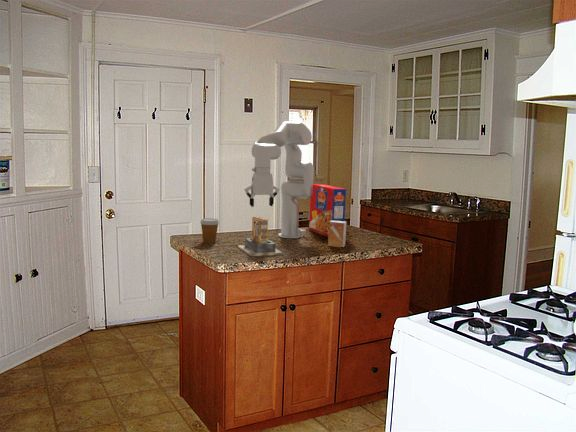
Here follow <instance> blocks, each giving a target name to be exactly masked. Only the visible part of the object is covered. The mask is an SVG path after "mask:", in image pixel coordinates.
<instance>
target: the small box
mask: <svg viewBox="0 0 576 432" xmlns="http://www.w3.org/2000/svg"><path fill="white" fill-rule="evenodd" d="M347 224H348V223H347V221H345V220H344V221H334V220H332V221H330V222H329V235H328V237H327V238H328V239H327V247H335V248H341V247H343V248H344V247H345V246H346V237H347Z"/></svg>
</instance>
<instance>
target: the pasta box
mask: <svg viewBox="0 0 576 432" xmlns="http://www.w3.org/2000/svg"><path fill="white" fill-rule="evenodd" d="M346 197H347V188H344V187H339V186H338V187H337V186H334V185H328V184H324V183H313V191H312V196H311V197H310V198H309V199H310V200H309V202H310V203H309V224H308V225H309V226H308V230H309V231H310V232H313V233H316V234H318V233H319V235H321V236H323V235H324V236H323V237H326V236H327V238H328V235H329V222H330V221H332V220H334V221H345V214H346V213H345V212H346Z"/></svg>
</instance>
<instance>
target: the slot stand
mask: <svg viewBox="0 0 576 432" xmlns="http://www.w3.org/2000/svg"><path fill="white" fill-rule="evenodd" d="M276 246H277V245H276V243H275V242H274V241H272V240H270V239H268V238H267V243H265V244H256V243H255V242H253V241H252V237H246V238H244V245H243V244H242V245H240V244H239V245H238V246H237V248H238V249H240V250H241V251H242V252H244V253H245V254H247V255H248V257H261V256H263V257H264V256H265V257H266V256H282V255H283V252H282V251H281V250H279V249H278V248H276Z"/></svg>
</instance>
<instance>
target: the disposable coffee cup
mask: <svg viewBox="0 0 576 432" xmlns="http://www.w3.org/2000/svg"><path fill="white" fill-rule="evenodd" d="M219 223H220V222H219V219H218V218H211V217H210V218H207V217H206V218H201V220H200V225H201V233H202V243H203V244H206V245H207V244H208V245H209V244H210V245H211V244H212V245H213V244H216V241H217V233H218V227H219Z"/></svg>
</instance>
